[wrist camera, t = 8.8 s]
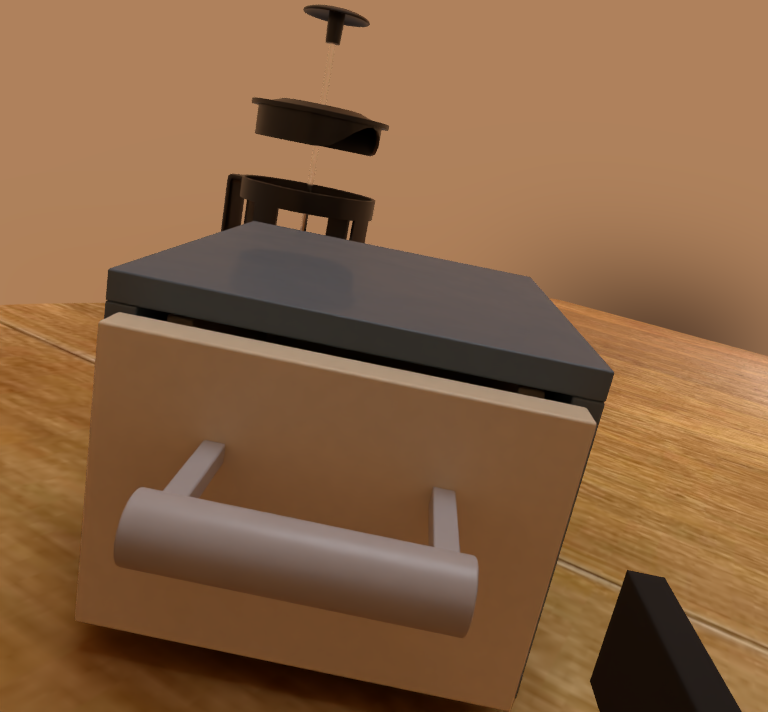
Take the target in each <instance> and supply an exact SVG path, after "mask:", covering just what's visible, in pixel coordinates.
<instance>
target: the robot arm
mask: <svg viewBox="0 0 768 712" xmlns="http://www.w3.org/2000/svg"><path fill="white" fill-rule="evenodd" d="M590 683H591V686H592V689H593V692H594V695H595V698H596V701H597V705H598V708H599V711H600V712H741V710H740V708H739V706H738V705H737V703H736V701H735V699H734V698H733V696H732V694H731V693H730V691H729V689H728V687H727V686H726V684H725V682H724V680H723V679H722V677H721V675H720V673H719V672H718V670H717V668H716V666H715V665H714V663H713V661H712V659H711V658H710V656H709V654H708V652H707V651H706V649H705V647H704V646H703V644H702V642H701V640H700V639H699V637H698V635H697V633H696V632H695V630H694V628H693V626H692V625H691V623H690V621H689V619H688V618H687V616H686V614H685V612H684V611H683V609H682V607H681V605H680V604H679V602H678V600H677V599H676V597H675V595H674V593H673V592H672V590H671V588H670V586H669V585H668V583H667V581H666V579H665V578H664V577H659V576H654V575H649V574H644V573H639V572H634V571H629V570H627V572H626V575H625V578H624V581H623V584H622V587H621V590H620V593H619V596H618V599H617V602H616V605H615V608H614V611H613V614H612V617H611V620H610V623H609V626H608V629H607V632H606V635H605V638H604V641H603V644H602V647H601V650H600V653H599V656H598V659H597V662H596V665H595V668H594V671H593V674H592V677H591V680H590Z"/></svg>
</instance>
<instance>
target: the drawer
mask: <svg viewBox="0 0 768 712" xmlns="http://www.w3.org/2000/svg"><path fill="white" fill-rule="evenodd" d="M544 397H545V391H544V390H542V389H537V388H532V387H527V386H522V385H517V384H512V383H507V382H503V381H498V380H493V379H488V378H483V377H478V376H473V375H468V374H464V373H459V372H454V371H449V370H444V369H439V368H434V367H429V366H424V365H420V364H415V363H410V362H405V361H400V360H395V359H390V358H385V357H381V356H376V355H371V354H366V353H361V352H356V351H351V350H346V349H341V348H337V347H332V346H327V345H322V344H317V343H312V342H307V341H302V340H297V339H293V338H288V337H283V336H278V335H273V334H268V333H263V332H258V331H254V330H249V329H244V328H239V327H234V326H229V325H224V324H219V323H214V322H210V321H205V320H200V319H195V318H190V317H185V316H180V315H175V314H169V315H168V316H167V322H166V321H161V320H156V319H151V318H146V317H141V316H136V315H132V314H127V313H122V312H118V313H116V314H114V315H112V316H110V317H107V318H105V319H103V320H101V321H100V322H99V323H98V335H97V347H96V360H95V372H94V385H93V398H92V410H91V423H90V435H89V448H88V460H87V473H86V486H85V498H84V511H83V523H82V536H81V548H80V561H79V574H78V586H77V599H76V611H75V620H76V621H78V622H83V623H88V624H93V625H97V626H102V627H107V628H112V629H117V630H121V631H126V632H131V633H136V634H141V635H145V636H150V637H155V638H160V639H164V640H169V641H174V642H179V643H184V644H188V645H193V646H198V647H203V648H208V649H212V650H217V651H222V652H227V653H232V654H236V655H241V656H246V657H251V658H256V659H260V660H265V661H270V662H275V663H279V664H284V665H289V666H294V667H299V668H303V669H308V670H313V671H318V672H323V673H327V674H332V675H337V676H342V677H347V678H351V679H356V680H361V681H366V682H371V683H375V684H380V685H385V686H390V687H394V688H399V689H404V690H409V691H414V692H418V693H423V694H428V695H433V696H438V697H442V698H447V699H452V700H457V701H462V702H466V703H471V704H476V705H481V706H486V707H490V708H495V709H500V710H505V711H510V710H511V708H512V704H513V701H514V698H515V694H516V691H517V688H518V684H519V681H520V678H521V674H522V671H523V668H524V665H525V661H526V658H527V655H528V651H529V648H530V645H531V641H532V638H533V635H534V631H535V628H536V625H537V621H538V618H539V615H540V612H541V608H542V605H543V602H544V598H545V595H546V592H547V588H548V585H549V582H550V578H551V575H552V572H553V568H554V565H555V562H556V558H557V555H558V552H559V549H560V545H561V542H562V539H563V535H564V532H565V529H566V525H567V522H568V519H569V515H570V512H571V509H572V505H573V502H574V499H575V496H576V492H577V489H578V486H579V482H580V479H581V476H582V472H583V469H584V466H585V462H586V459H587V456H588V452H589V449H590V446H591V443H592V439H593V436H594V433H595V429H596V426H597V425H596V422H595V420H594V419H593V417H592V416H591V414H590V412H589V411H588V409H587V408H585V407H581V406H576V405H571V404H566V403H561V402H556V401H551V400H546V399H544Z"/></svg>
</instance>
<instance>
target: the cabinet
mask: <svg viewBox="0 0 768 712" xmlns="http://www.w3.org/2000/svg"><path fill="white" fill-rule="evenodd" d="M106 300H108V301H106V303H105V315H104V319H105V318H107V317H110V316H112V315H114V314H116V313H118V312H122V313H127V314H132V315H136V316H141V317H146V318H151V319H156V320H161V321H166V322H167V316H168V315H169V314H175V315H180V316H185V317H190V318H195V319H200V320H205V321H210V322H214V323H219V324H224V325H229V326H234V327H239V328H244V329H249V330H254V331H258V332H263V333H268V334H273V335H278V336H283V337H288V338H293V339H297V340H302V341H307V342H312V343H317V344H322V345H327V346H332V347H337V348H341V349H346V350H351V351H356V352H361V353H366V354H371V355H376V356H381V357H385V358H390V359H395V360H400V361H405V362H410V363H415V364H420V365H424V366H429V367H434V368H439V369H444V370H449V371H454V372H459V373H464V374H468V375H473V376H478V377H483V378H488V379H493V380H498V381H503V382H507V383H512V384H517V385H522V386H527V387H532V388H537V389H542V390H544V391H545V397H544V399H546V400H551V401H556V402H561V403H566V404H571V405H576V406H581V407H585V408H587V409H588V411H589V412H590V414H591V416H592V417H593V419H594V420H595V422H596V425H597V426H596V429H595V433H594V436H593V439H592V443H591V446H590V449H589V452H588V456H587V459H586V462H585V466H584V469H583V472H582V476H581V479H580V482H579V486H578V489H577V492H576V496H575V499H574V502H573V505H572V509H571V512H570V515H569V519H568V522H567V525H566V529H565V532H564V535H563V539H562V542H561V545H560V549H559V552H558V555H557V558H556V562H555V565H554V568H553V572H552V575H551V578H550V582H549V585H548V588H547V592H546V595H545V598H544V602H543V605H542V608H541V612H540V615H539V618H538V621H537V625H536V628H535V631H534V635H533V638H532V641H531V645H530V648H529V651H528V655H527V658H526V661H525V665H524V668H523V671H522V674H523V672H524V669H525V666H526V663H527V659H528V656H529V653H530V650H531V646H532V643H533V640H534V636H535V633H536V630H537V626H538V623H539V620H540V617H541V613H542V610H543V607H544V603H545V600H546V597H547V593H548V590H549V587H550V583H551V580H552V577H553V574H554V570H555V567H556V564H557V560H558V557H559V554H560V550H561V547H562V544H563V541H564V537H565V534H566V531H567V527H568V524H569V521H570V517H571V514H572V511H573V507H574V504H575V501H576V498H577V494H578V491H579V488H580V484H581V481H582V478H583V474H584V471H585V468H586V465H587V461H588V458H589V455H590V451H591V448H592V445H593V441H594V438H595V435H596V431H597V428H598V425H599V422H600V418H601V415H602V412H603V408H604V402H605V401H606V399H607V395H608V392H609V389H610V386H611V382H612V379H613V376H614V371H613V370H612V369H611V368H610V367H609V366H608V365H607V364H606V362H605V361H604V360H603V359H602V358H601V357H600V356H599V354H598V353H597V352H596V351H595V350H594V349H593V348H592V347H591V345H590V344H589V343H588V342H587V341H586V340H585V339H584V337H583V336H582V335H581V334H580V333H579V332H578V331H577V330H576V328H575V327H574V326H573V325H572V324H571V323H570V322H569V321H568V319H567V318H566V317H565V316H564V315H563V314H562V313H561V311H560V310H559V309H558V308H557V307H556V306H555V305H554V304H553V302H552V301H551V300H550V299H549V298H548V297H547V296H546V295H545V293H544V292H543V291H542V290H541V289H540V288H539V287H538V286H537V285H536V283H535V282H534V281H533V280H532V279H531V278H530V277H527V276H522V275H517V274H512V273H507V272H502V271H497V270H492V269H488V268H482V267H477V266H473V265H468V264H463V263H458V262H453V261H448V260H443V259H438V258H433V257H428V256H423V255H419V254H414V253H409V252H404V251H399V250H394V249H389V248H384V247H379V246H374V245H370V244H365V243H360V242H355V241H350V240H345V239H340V238H335V237H330V236H325V235H320V234H315V233H311V232H306V231H301V230H296V229H290V228H286V227H280V226H276V225H271V224H266V223H261V222H257V221H252V222H249V223H246V224H243V225H240V226H237V227H234V228H231V229H228V230H225V231H222V232H219V233H216V234H213V235H210V236H207V237H204V238H201V239H198V240H195V241H192V242H188V243H185V244H182V245H179V246H176V247H173V248H170V249H167V250H164V251H161V252H158V253H155V254H152V255H149V256H146V257H143V258H140V259H137V260H134V261H131V262H128V263H125V264H122V265H119V266H116V267H113V268H110V269H109V270H108V280H107V292H106ZM522 674H521V678H520V681H519V684H518V688H517V691H516V694H515V698H516V696H517V693H518V690H519V687H520V683H521V680H522V677H523V675H522Z"/></svg>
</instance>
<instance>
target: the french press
mask: <svg viewBox="0 0 768 712" xmlns="http://www.w3.org/2000/svg"><path fill="white" fill-rule="evenodd" d="M304 12H305V13H307V14H309V15H311V16H313V17H316V18H319V19H321V20H325V21H328V25H327V35H326V42H327V43H329V44H330V45H329V52H328V58H327V64H326V70H325V77H324V83H323V89H322V96H321V102H320V104H317V103H312V102H307V101H301V100H296V99H288V98H282V99H275V100H269V99H263V98H252V103H254V104H258V105H259V108H258V115H257V123H256V130H255V133H256V134H260V135H265V136H269V137H274V138H279V139H284V140H290V141H294V142H299V143H304V144H309V145H314V147H313V154H312V160H311V166H310V173H309V179H308V183H303V182H297V181H291V180H286V179H279V178H273V177H265V176H258V175H257V176H256V175H240V174H230V175H229V176H228V180H227V188H226V196H225V204H224V212H223V220H222V229H221V232H222V231H225V230H228V229H231V228H234V227H237V226H240V225H241V219H242V211H243V204H244V199H247V204H246V211H245V219H244V224H246V223H249V222H252V221H257V222H261V223H266V224H271V225H276V223H277V216H278V209H284V210H288V211H293V212H298V213H303V217H302V224H301V231H306V225H307V219H308V214H309V215H315V216H321V217H327V218H328V225H327V229H326V235H325V236H330V237H335V238H340V239H345V240H346V238H347V233H348V227H349V221H353V223H352V228H351V233H350V239H349V240H350V241H355V242H360V243H365V237H366V232H367V226H368V221H371V220H372V216H373V210H374V204H375V200H374V199H371V198H369V197H365V196H362V195H358V194H354V193H350V192H346V191H342V190H337V189H333V188H328V187H323V186H318V185H313V182H314V175H315V169H316V162H317V156H318V150H319V146H323V147H328V148H333V149H338V150H343V151H348V152H352V153H357V154H362V155H367V156H372V155H375V153H376V151H377V149H378V146H379V141H380V135H381V130H385V131H388V129H389V126H388V125H385V124H382V123H379V122H375V121H371V120H370V119H368V118H366V117H364V116H363V115H361V114H359V113H356V112H353V111H349V110H345V109H341V108H336V107H331V106H327V105H326V100H327V94H328V87H329V81H330V75H331V69H332V62H333V56H334V50H335V45H340V40H341V35H342V30H343V25H347V26H355V27H367V26H369V25H370V24H369V21H368V20H367V19H366V18H364V17H363V16H361V15H359V14H357V13H355V12H352V11H349V10H346V9H343V8H338V7H334V6H327V5H310V6H306V7H304Z"/></svg>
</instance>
